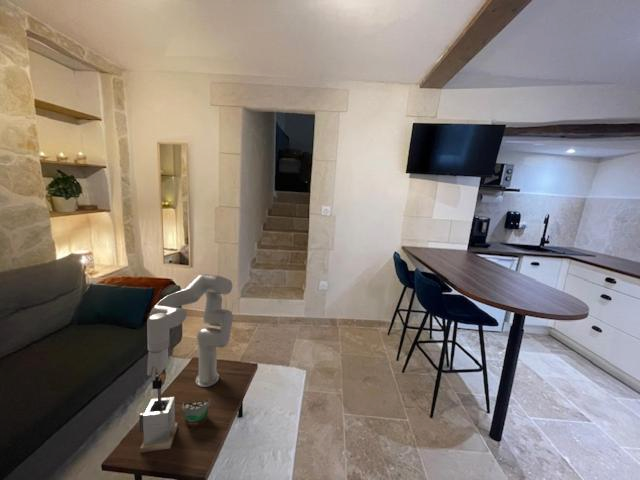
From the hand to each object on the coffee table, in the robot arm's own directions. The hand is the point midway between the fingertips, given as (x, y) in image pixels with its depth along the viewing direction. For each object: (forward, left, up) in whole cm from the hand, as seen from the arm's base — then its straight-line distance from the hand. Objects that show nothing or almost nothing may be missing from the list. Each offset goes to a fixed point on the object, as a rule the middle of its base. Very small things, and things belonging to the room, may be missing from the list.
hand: (159, 383), depth 109 cm
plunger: (0, 0, -16) cm, 16 cm away
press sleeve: (0, -1, -24) cm, 24 cm away
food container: (-5, +13, -26) cm, 30 cm away
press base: (0, 0, -26) cm, 26 cm away
